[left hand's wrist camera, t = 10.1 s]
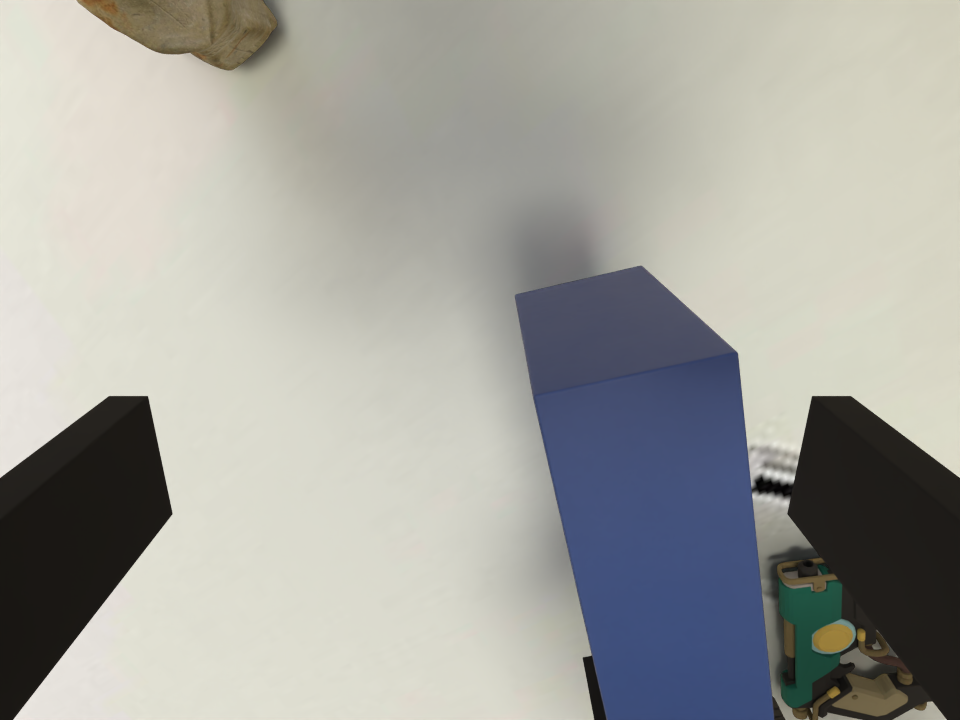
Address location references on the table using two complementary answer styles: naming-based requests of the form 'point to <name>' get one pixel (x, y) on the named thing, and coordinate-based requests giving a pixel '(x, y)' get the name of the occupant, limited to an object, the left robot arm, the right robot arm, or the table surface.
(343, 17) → the table surface
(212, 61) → the sculpture
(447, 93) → the table surface
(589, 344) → the box
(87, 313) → the table surface
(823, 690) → the spray gun
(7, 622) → the left robot arm
